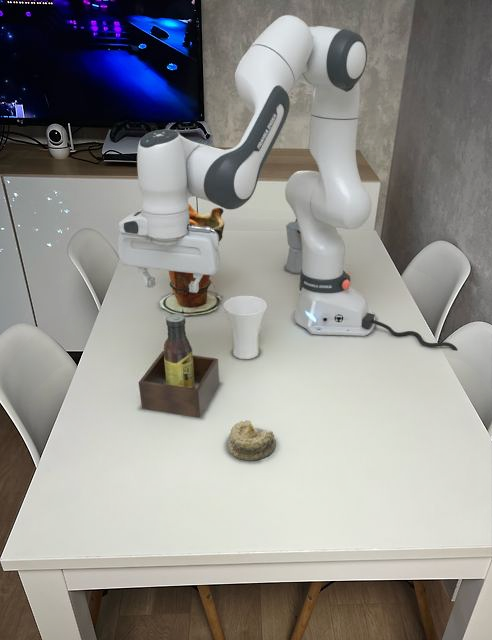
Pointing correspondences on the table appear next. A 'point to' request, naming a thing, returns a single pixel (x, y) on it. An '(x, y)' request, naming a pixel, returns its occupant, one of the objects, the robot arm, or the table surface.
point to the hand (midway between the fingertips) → (172, 289)
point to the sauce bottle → (178, 354)
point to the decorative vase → (181, 297)
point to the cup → (245, 324)
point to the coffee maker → (294, 248)
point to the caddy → (179, 388)
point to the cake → (250, 442)
